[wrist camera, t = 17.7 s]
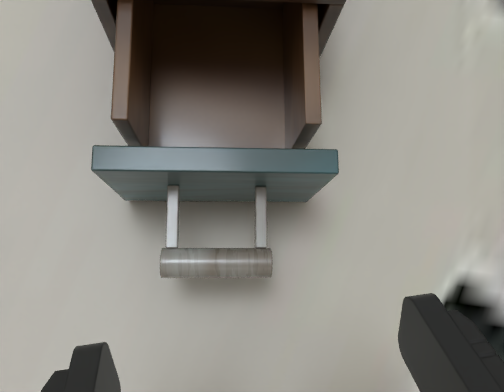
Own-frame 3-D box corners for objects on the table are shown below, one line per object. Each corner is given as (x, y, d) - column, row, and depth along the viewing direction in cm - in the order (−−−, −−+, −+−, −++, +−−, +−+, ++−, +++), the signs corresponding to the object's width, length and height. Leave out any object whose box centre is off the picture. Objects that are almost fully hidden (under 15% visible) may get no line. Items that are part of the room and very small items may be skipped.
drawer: (309, 277, 28) (343, 276, 21) (120, 278, 27) (84, 277, 20) (301, 9, 32) (328, -78, 24) (133, 2, 31) (106, -90, 23)
